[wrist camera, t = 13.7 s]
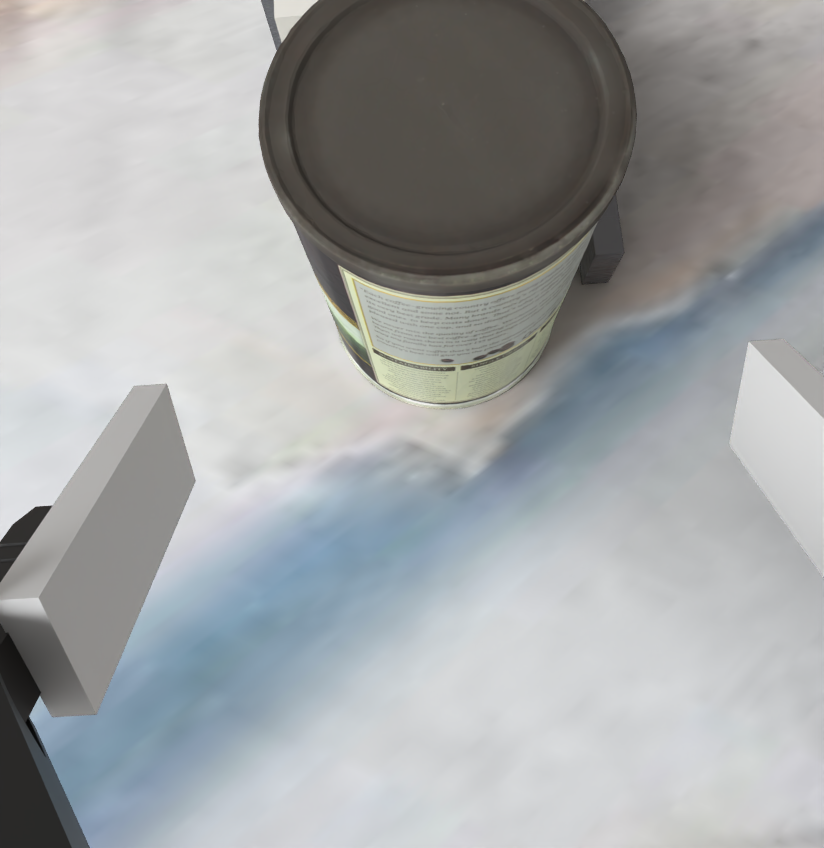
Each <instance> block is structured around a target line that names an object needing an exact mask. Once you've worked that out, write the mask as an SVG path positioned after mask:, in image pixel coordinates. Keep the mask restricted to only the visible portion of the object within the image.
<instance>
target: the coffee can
mask: <svg viewBox="0 0 824 848" xmlns="http://www.w3.org/2000/svg"><path fill="white" fill-rule="evenodd" d="M636 117H637V113H636V103H635V95H634V88H633V83H632V79H631V75H630V72H629V69H628V67H627V64H626V61H625V58H624V56H623V54H622V52H621V50H620V48H619V46H618V44H617V42H616V41H615V39H614V37H613V36H612V34H611V32H610V31H609V29H608V28H607V26H606V24H605V23H604V22H603V21H602V20H601V18H600V17H599V16H598V15H597V14H596V13H595V11H594V10H593V9H592V8H591V7H590V6H589V5H587V4H586V3H585V2H584V1H583V0H318V1H317V2H316V3H315V4H313V5H312V6H311V7H310V8H309V9H308V10H307V11H306V12H305V13H304V15H303V16H302V17H301V18H300V19H299V20H298V21H297V23H296V24H295V25H294V26H293V27H292V28H291V29H290V31H289V33H288V35H287V37H286V38H285V39H284V40H283V42H282V43H281V45H280V46H279V48H278V50H277V52H276V54H275V56H274V58H273V60H272V63H271V65H270V68H269V70H268V73H267V76H266V79H265V82H264V86H263V90H262V94H261V100H260V110H259V140H260V146H261V151H262V156H263V160H264V164H265V168H266V170H267V173H268V176H269V179H270V181H271V183H272V186H273V188H274V190H275V192H276V194H277V196H278V198H279V200H280V203H281V204H282V206H283V208H284V210H285V211H286V213H287V215H288V216H289V217H290V219H291V220H292V222H293V223H294V226H295V228H296V230H297V233H298V235H299V238H300V240H301V243H302V245H303V247H304V250H305V252H306V255H307V257H308V259H309V262H310V264H311V266H312V268H313V271H314V273H315V276H316V278H317V280H318V283H319V285H320V288H321V290H322V292H323V295H324V297H325V299H326V302H327V304H328V307H329V309H330V311H331V314H332V316H333V319H334V321H335V323H336V326H337V329H338V332H339V336H340V339H341V342H342V344H343V347H344V349H345V351H346V352H347V354H348V356H349V358H350V359H351V361H352V362H353V364H354V365H355V366H356V368H357V369H358V370H359V371H360V372H361V373H362V375H363V376H364V377H365V378H366V379H367V380H369V381H370V382H371V383H372V384H373V385H374V386H376V387H377V388H378V389H379V390H381V391H382V392H384V393H386V394H387V395H389V396H391V397H393V398H395V399H398V400H400V401H403V402H405V403H408V404H411V405H415V406H420V407H424V408H433V409H457V408H466V407H470V406H474V405H476V404H479V403H482V402H485V401H488V400H490V399H493V398H495V397H497V396H498V395H500V394H502V393H504V392H505V391H507V390H509V389H510V388H511V387H512V386H514V385H515V384H516V383H518V382H519V381H520V380H521V379H522V378H523V377H524V376H525V375H526V374H527V373H528V372H529V371H530V370H531V368H532V367H533V366H534V365H535V364H536V362H537V361H538V360H539V358H540V356H541V354H542V352H543V350H544V348H545V346H546V344H547V343H548V340H549V337H550V334H551V330H552V327H553V323H554V321H555V318H556V316H557V314H558V312H559V309H560V307H561V305H562V302H563V300H564V298H565V296H566V294H567V292H568V290H569V287H570V285H571V282H572V280H573V278H574V275H575V273H576V271H577V269H578V266H579V264H580V261H581V259H582V257H583V254H584V252H585V250H586V248H587V246H588V243H589V241H590V239H591V236H592V234H593V231H594V229H595V227H596V225H597V222H598V220H599V219H600V218H601V217H602V215H603V214H604V213H605V211H606V209H607V208H608V206H609V204H610V203H611V201H612V199H613V198H614V196H615V194H616V192H617V190H618V188H619V186H620V184H621V182H622V180H623V178H624V175H625V172H626V169H627V166H628V163H629V160H630V157H631V153H632V149H633V145H634V140H635V133H636Z"/></svg>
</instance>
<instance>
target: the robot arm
mask: <svg viewBox="0 0 824 848" xmlns="http://www.w3.org/2000/svg"><path fill="white" fill-rule="evenodd" d="M729 445H730V447H731V448H732V450H733V451H734V452H735V454H736V455H737V457H738V458H739V459H740V461H741V462H742V464H743V465H744V467H745V468H746V469H747V471H748V472H749V474H750V475H751V476H752V478H753V479H754V481H755V482H756V484H757V485H758V486H759V488H760V489H761V491H762V492H763V493H764V495H765V496H766V498H767V499H768V500H769V502H770V503H771V505H772V506H773V508H774V509H775V510H776V512H777V513H778V515H779V516H780V517H781V519H782V520H783V522H784V523H785V525H786V526H787V527H788V529H789V530H790V532H791V533H792V534H793V536H794V537H795V539H796V540H797V541H798V543H799V544H800V546H801V547H802V549H803V550H804V551H805V553H806V554H807V556H808V557H809V558H810V560H811V561H812V563H813V564H814V565H815V567H816V568H817V570H818V571H819V573H820V574H821V575H822V577H823V578H824V376H823V375H822V374H821V373H820V372H819V371H818V370H817V369H816V368H815V367H813V366H812V365H811V364H810V363H809V362H808V361H807V360H806V359H805V358H804V357H803V356H802V355H801V354H799V353H798V352H797V351H796V350H795V349H794V348H793V347H792V346H791V345H790V344H789V343H788V342H787V341H785V340H784V339H774V340H760V341H749V342H748V348H747V353H746V358H745V363H744V368H743V374H742V379H741V384H740V389H739V394H738V400H737V405H736V410H735V415H734V420H733V426H732V431H731V436H730V441H729ZM195 481H196V480H195V477H194V474H193V470H192V467H191V464H190V460H189V457H188V453H187V450H186V447H185V443H184V440H183V437H182V433H181V430H180V426H179V423H178V420H177V416H176V413H175V410H174V406H173V403H172V399H171V396H170V393H169V389H168V386H167V384H156V385H142V386H134V387H133V388H132V390H131V391H130V393H129V394H128V395H127V397H126V398H125V400H124V401H123V403H122V404H121V406H120V407H119V409H118V410H117V412H116V413H115V415H114V416H113V418H112V419H111V420H110V422H109V423H108V425H107V426H106V428H105V429H104V431H103V432H102V434H101V435H100V437H99V438H98V440H97V441H96V443H95V444H94V446H93V447H92V448H91V450H90V451H89V453H88V454H87V456H86V457H85V459H84V460H83V462H82V463H81V465H80V466H79V468H78V469H77V471H76V472H75V473H74V475H73V476H72V478H71V479H70V481H69V482H68V484H67V485H66V487H65V488H64V490H63V491H62V493H61V494H60V496H59V497H58V499H57V500H56V501H55V503H54V504H53V506H40V507H35V508H34V509H32V510H31V511H30V512H28V513H27V514H26V515H25V516H23V517H22V518H21V519H19V520H18V521H17V522H16V523H14V524H13V525H12V526H11V528H10V529H9V531H8V532H7V533H6V535H5V536H4V537H3V539H2V540H1V542H0V848H90V847H89V845H88V843H87V840H86V838H85V836H84V834H83V832H82V829H81V827H80V825H79V823H78V821H77V818H76V816H75V814H74V812H73V810H72V807H71V805H70V803H69V801H68V798H67V796H66V794H65V792H64V790H63V787H62V785H61V783H60V781H59V779H58V776H57V774H56V772H55V770H54V768H53V765H52V763H51V761H50V759H49V757H48V754H47V752H46V750H45V748H44V745H43V743H42V741H41V739H40V737H39V734H38V732H37V730H36V728H35V726H34V724H33V723H32V721H31V719H30V717H29V715H30V713H31V711H32V709H33V707H34V705H35V703H36V701H37V700H38V698H39V696H41V698H42V700H43V702H44V704H45V705H46V707H47V709H48V711H49V713H50V714H51V716H52V717H64V716H82V715H96V714H97V712H98V710H99V707H100V705H101V703H102V700H103V698H104V696H105V693H106V691H107V689H108V686H109V684H110V681H111V679H112V677H113V674H114V672H115V670H116V667H117V665H118V663H119V660H120V658H121V656H122V653H123V651H124V648H125V646H126V644H127V641H128V639H129V637H130V634H131V632H132V630H133V627H134V625H135V623H136V620H137V618H138V615H139V613H140V611H141V608H142V606H143V604H144V601H145V599H146V597H147V594H148V592H149V590H150V587H151V585H152V582H153V580H154V578H155V575H156V573H157V571H158V568H159V566H160V564H161V561H162V559H163V557H164V554H165V552H166V549H167V547H168V545H169V542H170V540H171V538H172V535H173V533H174V531H175V528H176V526H177V524H178V521H179V519H180V516H181V514H182V512H183V509H184V507H185V505H186V502H187V500H188V498H189V495H190V493H191V490H192V488H193V486H194V483H195Z"/></svg>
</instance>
